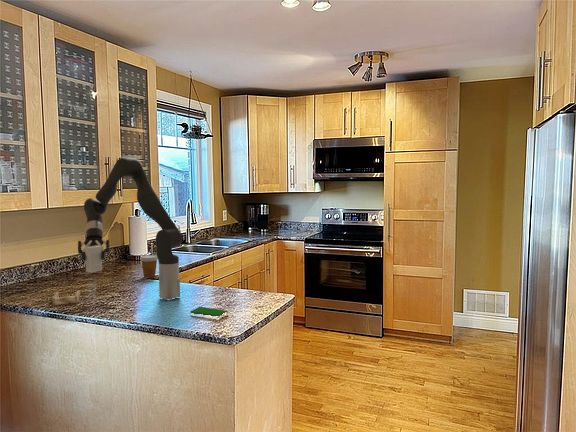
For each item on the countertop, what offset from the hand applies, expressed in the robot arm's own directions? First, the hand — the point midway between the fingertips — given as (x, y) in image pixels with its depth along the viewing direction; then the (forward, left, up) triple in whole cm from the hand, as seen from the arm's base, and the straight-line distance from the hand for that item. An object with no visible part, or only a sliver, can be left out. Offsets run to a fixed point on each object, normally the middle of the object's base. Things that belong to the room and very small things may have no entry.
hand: (93, 259), depth 194 cm
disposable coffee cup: (-26, -33, -19) cm, 46 cm away
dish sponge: (-46, +45, -19) cm, 67 cm away
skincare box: (0, -2, -6) cm, 6 cm away
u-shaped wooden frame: (+12, +1, -18) cm, 22 cm away
